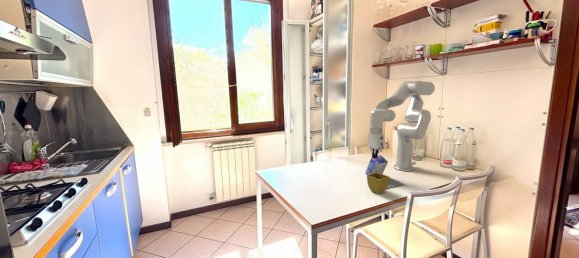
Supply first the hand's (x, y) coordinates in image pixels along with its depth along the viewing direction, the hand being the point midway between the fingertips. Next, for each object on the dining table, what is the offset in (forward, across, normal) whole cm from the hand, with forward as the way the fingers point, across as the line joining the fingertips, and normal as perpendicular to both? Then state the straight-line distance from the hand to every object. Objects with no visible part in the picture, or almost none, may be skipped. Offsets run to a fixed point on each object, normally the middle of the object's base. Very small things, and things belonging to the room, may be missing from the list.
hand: (374, 159), depth 156 cm
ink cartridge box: (+11, +1, 0) cm, 11 cm away
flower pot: (+12, -18, +13) cm, 25 cm away
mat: (+12, -10, 0) cm, 15 cm away
